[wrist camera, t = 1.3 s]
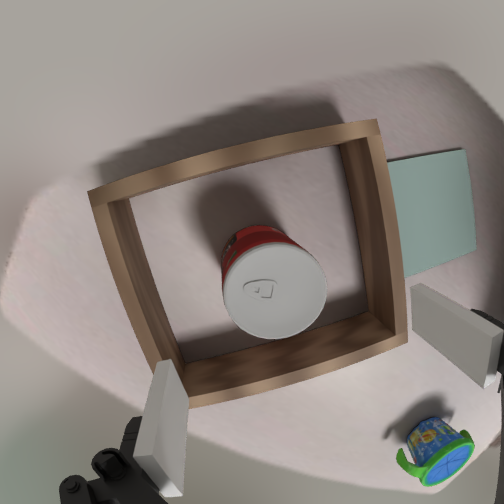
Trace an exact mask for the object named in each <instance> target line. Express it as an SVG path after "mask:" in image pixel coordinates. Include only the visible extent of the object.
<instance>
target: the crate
mask: <svg viewBox="0 0 504 504" xmlns="http://www.w3.org/2000/svg"><path fill="white" fill-rule="evenodd" d="M333 145H339V148H340V152H341V156H342V160H343V165H344V169H345V173H346V178H347V182H348V187H349V192H350V197H351V202H352V207H353V212H354V217H355V223H356V228H357V234H358V239H359V245H360V252H361V258H362V264H363V271H364V278H365V286H366V293H367V301H368V310H369V311H368V312H365V313H362V314H359V315H356V316H354V317H351V318H348V319H345V320H342V321H339V322H336V323H333V324H330V325H327V326H323V327H320V328H317V329H314V330H311V331H308V332H304V333H301V334H298V335H294V336H291V337H288V338H284V339H281V340H277V341H274V342H270V343H267V344H263V345H259V346H256V347H252V348H248V349H245V350H241V351H237V352H233V353H229V354H225V355H221V356H217V357H213V358H208V359H204V360H200V361H196V362H191V363H187V364H185V362H184V359H183V357H182V354H181V352H180V349H179V347H178V344H177V342H176V339H175V337H174V334H173V332H172V329H171V326H170V324H169V321H168V318H167V316H166V313H165V310H164V308H163V305H162V302H161V299H160V297H159V294H158V291H157V288H156V285H155V282H154V279H153V276H152V273H151V270H150V267H149V264H148V261H147V258H146V255H145V252H144V249H143V246H142V242H141V239H140V236H139V232H138V229H137V226H136V222H135V219H134V215H133V212H132V208H131V205H130V201H129V198H132V197H135V196H138V195H141V194H144V193H147V192H150V191H153V190H157V189H160V188H163V187H166V186H170V185H173V184H177V183H180V182H183V181H187V180H190V179H194V178H197V177H201V176H204V175H208V174H212V173H215V172H219V171H223V170H227V169H231V168H235V167H238V166H242V165H246V164H251V163H255V162H259V161H263V160H267V159H271V158H276V157H280V156H285V155H289V154H294V153H299V152H303V151H308V150H313V149H318V148H323V147H328V146H333ZM87 192H88V196H89V200H90V204H91V207H92V211H93V215H94V218H95V222H96V225H97V228H98V232H99V235H100V238H101V242H102V245H103V248H104V251H105V254H106V257H107V260H108V263H109V266H110V269H111V272H112V275H113V278H114V280H115V283H116V286H117V289H118V291H119V294H120V297H121V299H122V302H123V305H124V307H125V310H126V312H127V315H128V317H129V320H130V322H131V325H132V327H133V330H134V332H135V334H136V337H137V339H138V342H139V344H140V346H141V348H142V351H143V353H144V355H145V357H146V360H147V362H148V364H149V366H150V368H151V370H152V373H153V375H154V372H155V368H156V365H157V362H159V361H164V360H168V359H171V360H172V362H173V364H174V367H175V369H176V371H177V374H178V376H179V378H180V380H181V382H182V385H183V387H184V389H185V391H186V393H187V396H188V398H189V409H192V408H197V407H202V406H207V405H212V404H216V403H221V402H225V401H230V400H234V399H238V398H243V397H247V396H251V395H255V394H259V393H262V392H266V391H270V390H273V389H277V388H281V387H284V386H288V385H291V384H294V383H298V382H301V381H304V380H307V379H311V378H314V377H317V376H320V375H323V374H326V373H329V372H332V371H335V370H338V369H341V368H344V367H346V366H349V365H352V364H355V363H357V362H360V361H363V360H365V359H368V358H371V357H373V356H376V355H378V354H381V353H383V352H386V351H388V350H391V349H393V348H395V347H398V346H400V345H403V344H405V343H407V342H408V330H407V308H406V293H405V280H404V269H403V259H402V251H401V242H400V235H399V227H398V221H397V214H396V208H395V202H394V196H393V190H392V185H391V180H390V175H389V170H388V165H387V160H386V156H385V151H384V147H383V142H382V138H381V134H380V130H379V126H378V122H377V119H371V120H363V121H356V122H350V123H343V124H337V125H331V126H325V127H319V128H314V129H308V130H303V131H298V132H293V133H288V134H283V135H278V136H274V137H269V138H264V139H260V140H256V141H251V142H247V143H243V144H239V145H235V146H231V147H227V148H223V149H219V150H215V151H211V152H208V153H204V154H200V155H197V156H193V157H190V158H186V159H183V160H179V161H176V162H173V163H169V164H166V165H163V166H159V167H156V168H153V169H150V170H147V171H144V172H141V173H138V174H135V175H132V176H129V177H126V178H123V179H120V180H117V181H114V182H112V183H109V184H106V185H103V186H100V187H98V188H95V189H92V190H90V191H87Z"/></svg>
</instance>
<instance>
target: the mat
mask: <svg viewBox="0 0 504 504" xmlns="http://www.w3.org/2000/svg"><path fill="white" fill-rule="evenodd" d="M387 165H388V170H389V175H390V180H391V185H392V190H393V196H394V202H395V208H396V214H397V221H398V227H399V235H400V242H401V251H402V259H403V269H404V278H406V277H408V276H411V275H414V274H416V273H419V272H422V271H424V270H427V269H430V268H432V267H435V266H437V265H440V264H443V263H445V262H448V261H450V260H453V259H455V258H458V257H460V256H463V255H465V254H467V253H470V252H472V251H475V250H476V231H475V217H474V207H473V197H472V189H471V182H470V175H469V168H468V162H467V157H466V151H465V149H461V150H455V151H449V152H443V153H437V154H431V155H425V156H419V157H414V158H408V159H403V160H398V161H392V162H387Z"/></svg>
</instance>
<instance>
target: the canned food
mask: <svg viewBox="0 0 504 504" xmlns="http://www.w3.org/2000/svg"><path fill="white" fill-rule="evenodd" d="M221 268H222V292H223V299H224V304H225V307H226V309H227V311H228V314H229V316H230V317H231V319H232V320H233V321H234V323H235V324H236V325H238V326H239V327H240V328H241V329H242V330H244V331H245V332H247V333H249V334H251V335H254V336H256V337H260V338H265V339H281V338H287V337H290V336H293V335H295V334H298V333H299V332H301V331H303V330H305V329H306V328H307V327H308V326H310V325H311V324H312V323H313V322H314V321H315V320H316V318H317V317H318V316H319V314H320V313H321V311H322V309H323V307H324V304H325V301H326V296H327V281H326V278H325V274H324V272H323V270H322V268H321V266H320V265H319V263H318V262H317V261H316V259H315V258H314V257H313V256H312V255H311V254H310V253H309V252H308V251H306V250H305V249H304V248H302V247H301V246H300V245H298V244H297V243H296V242H294V241H293V240H292V239H290V238H289V237H288V236H286V235H285V234H284V233H282V232H281V231H279V230H277V229H275V228H273V227H269V226H262V225H257V226H250V227H247V228H244V229H242V230H240V231H239V232H237V233H236V234H235V235H233V236H232V237H231V238H230V240H229V241H228V242H227V244H226V246H225V248H224V250H223V253H222V261H221Z"/></svg>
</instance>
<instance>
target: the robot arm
mask: <svg viewBox="0 0 504 504" xmlns="http://www.w3.org/2000/svg"><path fill="white" fill-rule="evenodd" d="M410 291H411V309H412V330H413V331H414V332H415V333H417V334H418V335H419V336H420V337H422V338H423V339H424V340H425V341H427V342H428V343H429V344H430V345H431V346H433V347H434V348H435V349H436V350H438V351H439V352H440V353H441V354H442V355H444V356H445V357H446V358H447V359H448V360H450V361H451V362H452V363H453V364H454V365H456V366H457V367H458V368H459V369H460V370H462V371H463V372H464V373H465V374H466V375H467V376H469V377H470V378H471V379H472V380H473V381H475V382H476V383H477V384H478V385H479V386H480V387H482V388H483V389H484V388H486V387H487V386H489V385H490V384H492V383H493V382H494V381H495V378H496V373H497V371H498V372H500V373H501V374H502V376H501V380H500V384H499V388H498V393H500V389H501V405H502V429H501V452H500V466H499V476H498V484H497V491H496V498H495V503H494V504H504V324H503V323H502V322H500V321H498V320H496V319H494V318H493V317H491V316H488V314H486V313H484V312H482V311H479V310H475V309H471V310H469V309H467V308H465V307H463V306H462V305H460V304H458V303H456V302H455V301H453V300H451V299H449V298H447V297H446V296H444V295H442V294H440V293H438V292H437V291H435V290H433V289H431V288H429V287H428V286H426V285H424V284H422V283H420V284H417V285H415V286H412V287H410ZM188 409H189V398H188V396H187V393H186V391H185V389H184V387H183V385H182V382H181V380H180V378H179V376H178V374H177V371H176V369H175V367H174V364H173V362H172V360H171V359H168V360H164V361H159V362H157V365H156V368H155V372H154V376H153V379H152V383H151V387H150V390H149V394H148V398H147V401H146V405H145V409H144V413H143V416H140V417H133V418H132V419H131V420H130V422H129V423H128V424H127V426H126V429H125V432H124V434H125V435H124V436H123V439H122V440H123V441H122V443H121V446H120V450H118V449H115V448H107V449H104V450H102V451H100V452H98V453H97V454H96V455H95V456H94V458H93V459H92V463H91V465H92V468H93V470H94V471H95V472H96V473H97V474H98V475H99V477H100V478H99V479H95V480H91V481H86V480H85V479H84V478H83V477H82V476H80V475H72V476H69V477H67V478H65V479H64V480H63V481H62V483H61V484H60V487H59V493H60V500H61V504H168V503H167V502H166V501H165V500H164V499H163V498H162V497H161V496H160V495H159V491H160V492H161V493H162V494H163V495H164V496H165V497H174V496H183V485H184V466H185V450H186V435H187V422H188Z"/></svg>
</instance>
